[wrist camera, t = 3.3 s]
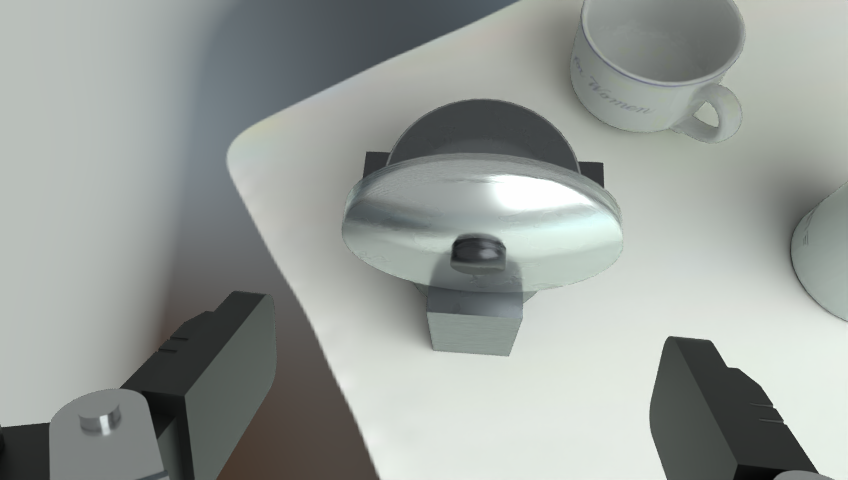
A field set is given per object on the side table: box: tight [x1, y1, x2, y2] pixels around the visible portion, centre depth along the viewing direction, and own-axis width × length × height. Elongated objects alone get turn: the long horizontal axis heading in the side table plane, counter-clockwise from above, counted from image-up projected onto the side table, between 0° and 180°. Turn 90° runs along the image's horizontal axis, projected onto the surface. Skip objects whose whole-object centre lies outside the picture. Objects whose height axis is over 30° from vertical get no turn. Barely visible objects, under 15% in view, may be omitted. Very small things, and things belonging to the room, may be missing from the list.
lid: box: [342, 153, 623, 292], centre depth 26 cm, size 12×12×2 cm
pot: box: [363, 99, 604, 356], centre depth 38 cm, size 14×14×9 cm
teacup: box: [570, 0, 745, 143], centre depth 43 cm, size 14×11×8 cm
